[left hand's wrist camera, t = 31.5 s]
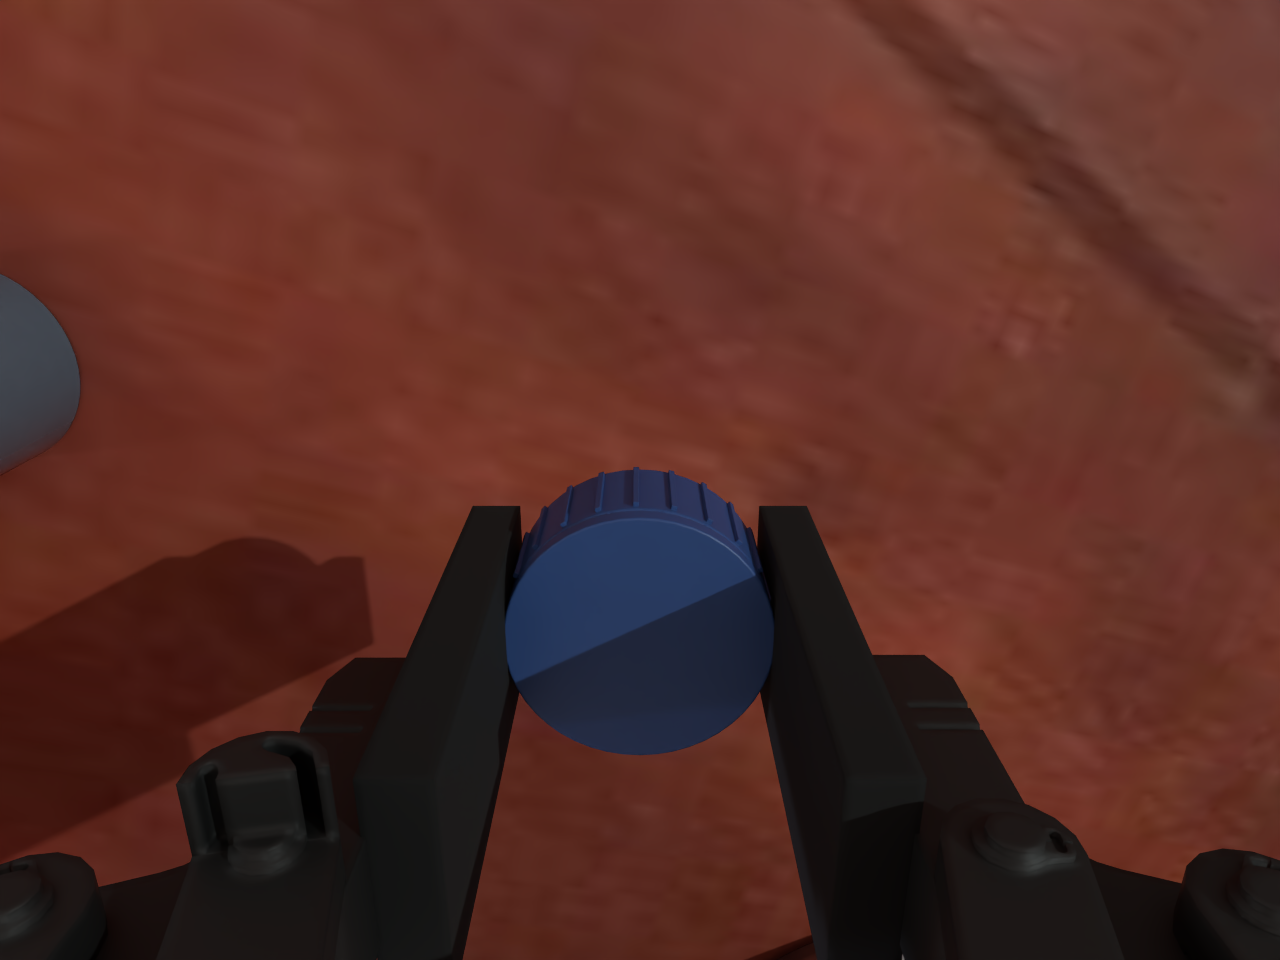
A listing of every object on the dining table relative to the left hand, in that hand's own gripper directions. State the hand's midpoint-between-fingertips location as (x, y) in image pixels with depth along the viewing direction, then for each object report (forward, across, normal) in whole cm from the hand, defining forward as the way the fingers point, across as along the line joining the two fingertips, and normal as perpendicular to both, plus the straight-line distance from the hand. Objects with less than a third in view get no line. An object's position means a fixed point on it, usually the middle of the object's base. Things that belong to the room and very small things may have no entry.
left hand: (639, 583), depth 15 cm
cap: (-2, 0, 0) cm, 2 cm away
